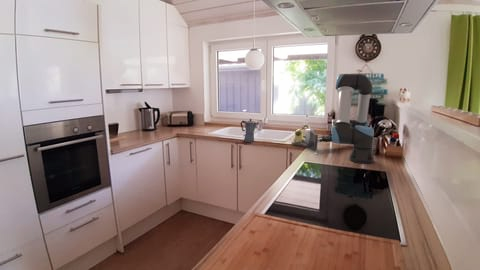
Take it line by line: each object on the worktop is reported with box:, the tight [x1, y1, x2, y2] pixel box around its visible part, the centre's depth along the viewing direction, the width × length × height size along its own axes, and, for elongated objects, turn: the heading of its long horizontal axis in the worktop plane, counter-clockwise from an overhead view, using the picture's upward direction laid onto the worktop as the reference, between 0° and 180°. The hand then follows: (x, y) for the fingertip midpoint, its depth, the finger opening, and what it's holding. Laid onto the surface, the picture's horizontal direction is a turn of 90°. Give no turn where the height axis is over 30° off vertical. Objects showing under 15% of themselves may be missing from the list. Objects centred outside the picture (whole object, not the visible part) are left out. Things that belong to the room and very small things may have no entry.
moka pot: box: [240, 118, 258, 143], centre depth 241 cm, size 10×15×20 cm, turn 78°
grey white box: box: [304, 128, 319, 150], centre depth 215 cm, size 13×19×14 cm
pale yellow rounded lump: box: [291, 128, 306, 147], centre depth 233 cm, size 10×10×13 cm
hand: (315, 140), depth 210 cm, fingers closed
